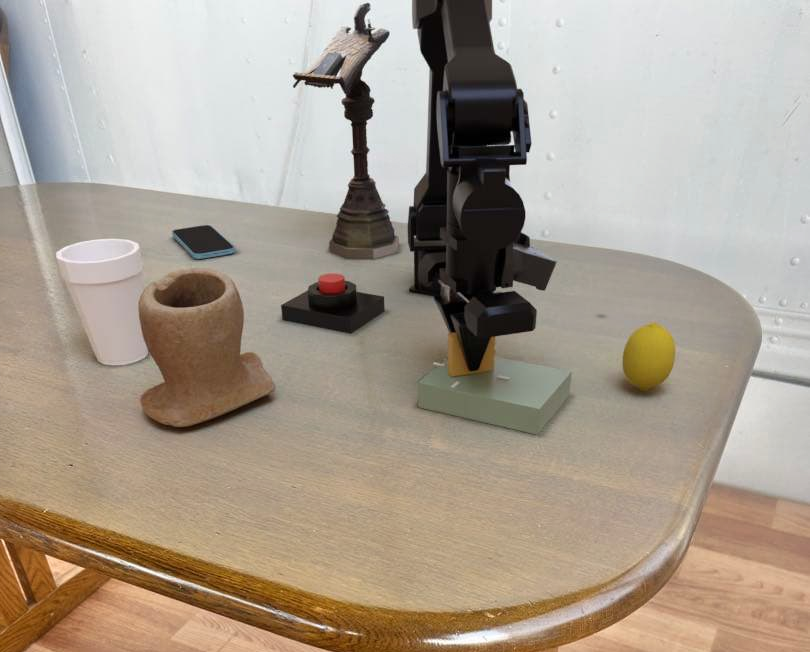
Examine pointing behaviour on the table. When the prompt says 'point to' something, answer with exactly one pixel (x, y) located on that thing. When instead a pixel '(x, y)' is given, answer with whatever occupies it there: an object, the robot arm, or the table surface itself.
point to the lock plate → (498, 394)
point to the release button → (331, 283)
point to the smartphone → (203, 241)
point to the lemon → (648, 356)
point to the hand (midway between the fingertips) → (470, 367)
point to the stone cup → (198, 348)
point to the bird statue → (355, 140)
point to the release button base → (333, 308)
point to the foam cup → (107, 296)
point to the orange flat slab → (457, 361)
